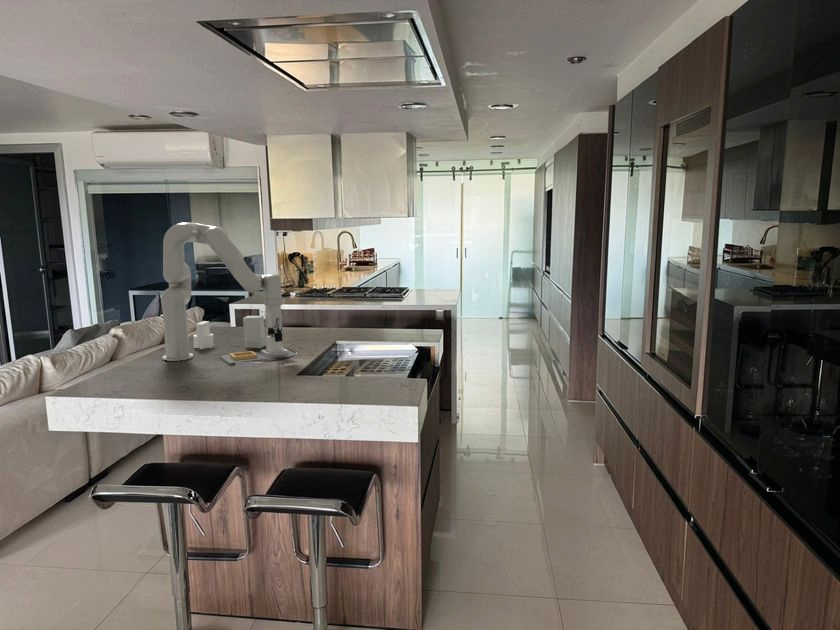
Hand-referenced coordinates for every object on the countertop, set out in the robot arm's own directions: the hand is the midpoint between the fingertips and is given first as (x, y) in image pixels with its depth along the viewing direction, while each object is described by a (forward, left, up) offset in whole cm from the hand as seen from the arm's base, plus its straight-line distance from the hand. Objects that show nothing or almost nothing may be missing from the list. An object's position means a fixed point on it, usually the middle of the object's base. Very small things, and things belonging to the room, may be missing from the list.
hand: (275, 339), depth 258 cm
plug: (0, 0, -6) cm, 6 cm away
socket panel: (0, -7, -7) cm, 10 cm away
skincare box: (-20, -3, -8) cm, 22 cm away
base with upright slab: (-36, -23, -8) cm, 44 cm away
